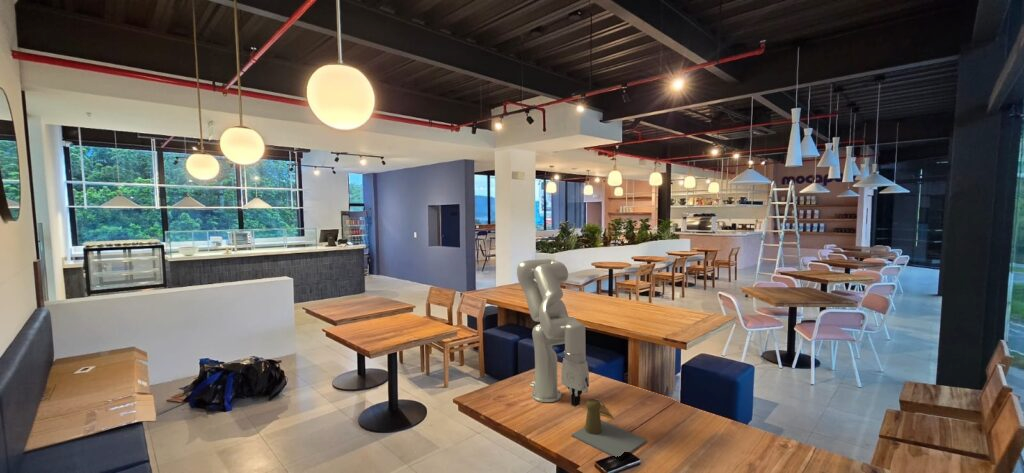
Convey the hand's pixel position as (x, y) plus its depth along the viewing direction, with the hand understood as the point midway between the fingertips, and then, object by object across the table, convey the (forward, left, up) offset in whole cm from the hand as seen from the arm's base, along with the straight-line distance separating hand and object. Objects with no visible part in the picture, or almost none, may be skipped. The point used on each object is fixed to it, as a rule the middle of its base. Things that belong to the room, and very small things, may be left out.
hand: (575, 404), depth 157 cm
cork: (+8, 0, -7) cm, 10 cm away
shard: (0, +15, -8) cm, 17 cm away
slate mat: (+14, 0, -7) cm, 16 cm away
